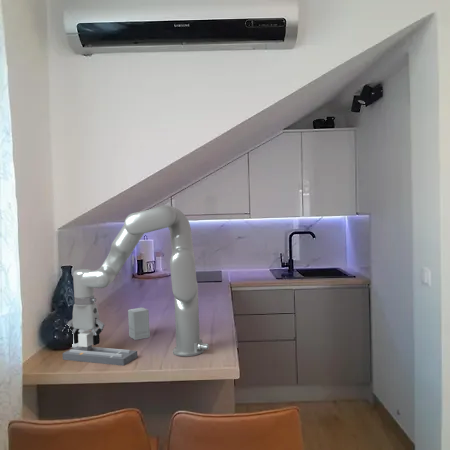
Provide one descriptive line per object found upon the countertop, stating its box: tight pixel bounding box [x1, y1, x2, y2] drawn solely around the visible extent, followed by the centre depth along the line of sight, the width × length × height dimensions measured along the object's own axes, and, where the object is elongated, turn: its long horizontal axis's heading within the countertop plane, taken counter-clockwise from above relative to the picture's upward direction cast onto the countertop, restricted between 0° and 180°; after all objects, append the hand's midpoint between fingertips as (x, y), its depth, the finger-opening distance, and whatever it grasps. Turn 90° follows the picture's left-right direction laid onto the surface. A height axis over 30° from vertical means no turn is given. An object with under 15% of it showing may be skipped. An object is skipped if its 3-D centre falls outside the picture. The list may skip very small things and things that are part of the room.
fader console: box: [62, 346, 138, 366], centre depth 188 cm, size 28×10×3 cm, turn 69°
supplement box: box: [127, 307, 151, 341], centre depth 216 cm, size 7×7×13 cm
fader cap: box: [78, 330, 94, 351], centre depth 190 cm, size 4×5×7 cm
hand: (86, 343), depth 190 cm, fingers open, 8 cm apart
